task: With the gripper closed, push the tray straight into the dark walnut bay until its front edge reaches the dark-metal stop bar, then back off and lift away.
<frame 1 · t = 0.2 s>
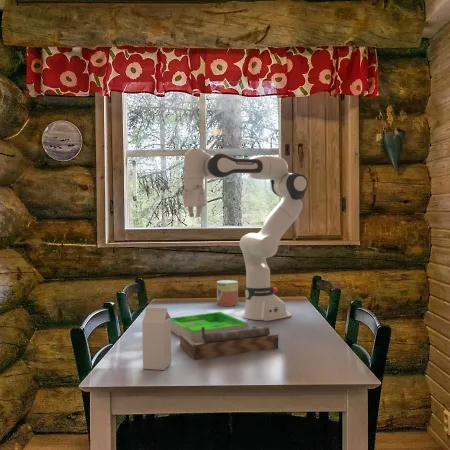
hand: (194, 217, 203), 47 cm above the table, fingers open, 8 cm apart
bay: (228, 346, 169), on the table
canned food: (227, 304, 245), on the table
tray: (207, 333, 190), on the table
milk carton: (157, 366, 149), on the table
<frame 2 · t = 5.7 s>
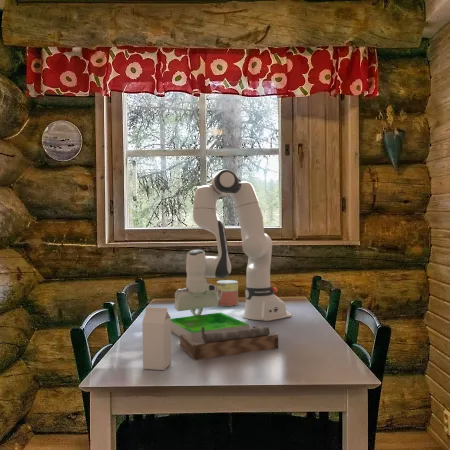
hand: (196, 318, 202), 3 cm above the table, fingers closed
tray: (207, 334, 190), on the table, touching gripper
everything else where it was.
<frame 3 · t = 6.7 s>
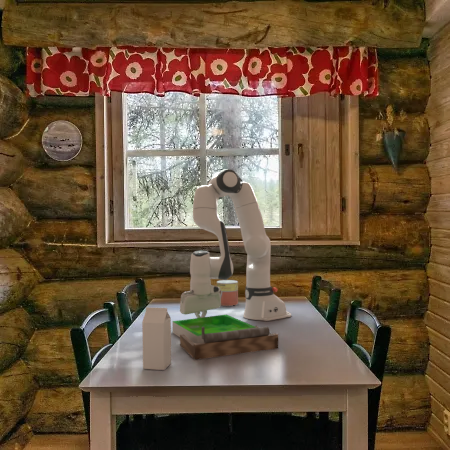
hand: (200, 321, 197), 3 cm above the table, fingers closed
tray: (213, 337, 184), on the table, touching gripper
everything else where it was.
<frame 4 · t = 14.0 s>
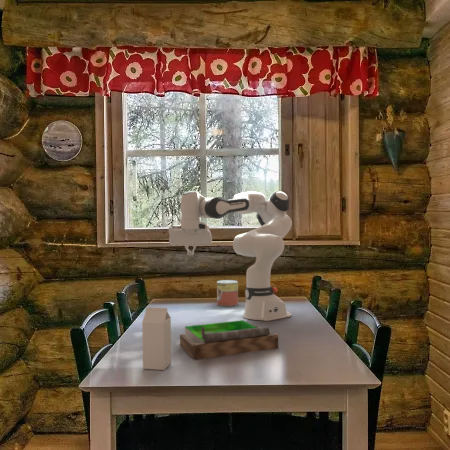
hand: (190, 254, 218), 29 cm above the table, fingers closed
tray: (226, 344, 174), on the table
everything else where it was.
at the end: tray 1.5 cm from the target spot, on the table; tray moved 17.6 cm from its start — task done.
